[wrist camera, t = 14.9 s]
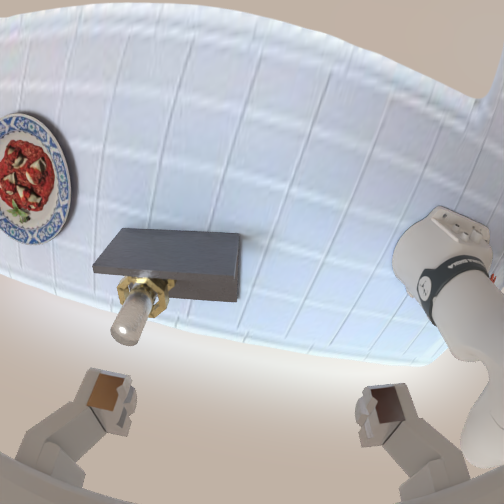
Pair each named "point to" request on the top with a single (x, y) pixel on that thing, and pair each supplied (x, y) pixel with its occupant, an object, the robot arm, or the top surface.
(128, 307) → the grey metal rod
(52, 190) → the ceramic plate
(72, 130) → the top surface
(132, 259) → the collar stand
